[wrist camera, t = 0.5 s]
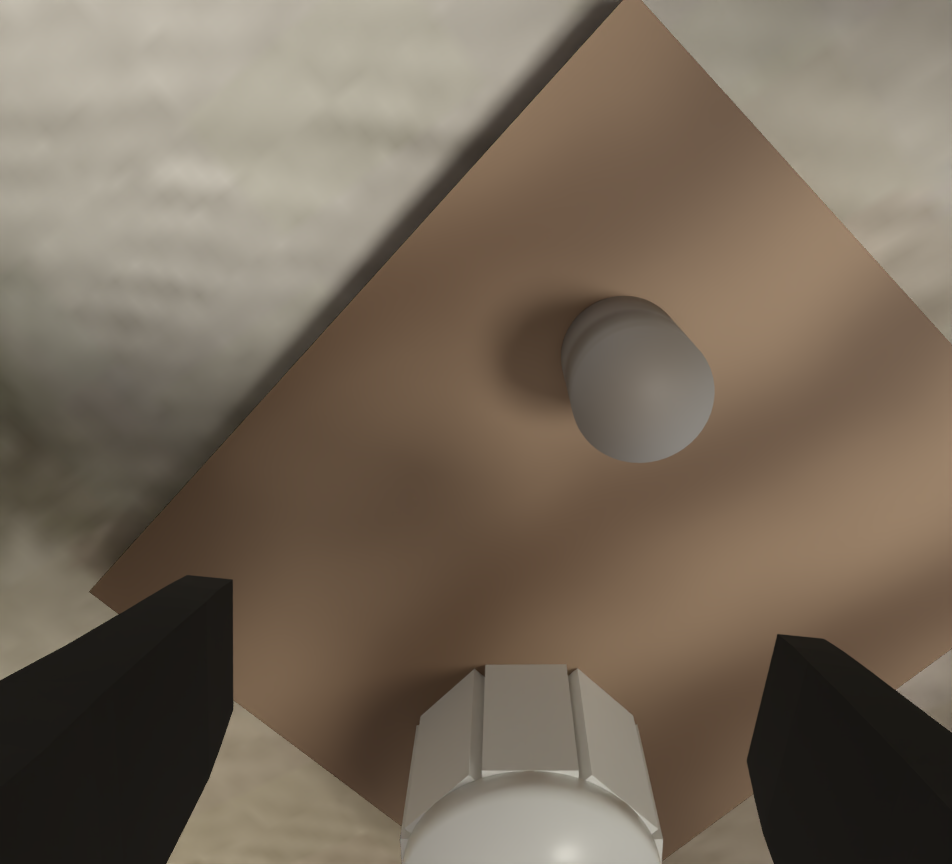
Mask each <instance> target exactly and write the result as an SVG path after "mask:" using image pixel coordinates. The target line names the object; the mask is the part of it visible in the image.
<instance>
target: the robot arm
mask: <svg viewBox="0 0 952 864" xmlns="http://www.w3.org/2000/svg"><path fill="white" fill-rule="evenodd" d="M232 712H233V579H223V578H213V577H203V576H193V575H186V576H184V577H182V578H180V579H178V580H176V581H174V582H173V583H171V584H169V585H167V586H165V587H164V588H162V589H160V590H159V591H157V592H155V593H154V594H152V595H150V596H149V597H147V598H145V599H144V600H142V601H140V602H139V603H137V604H135V605H134V606H132V607H130V608H129V609H127V610H125V611H124V612H122V613H120V614H119V615H117V616H115V617H114V618H112V619H110V620H108V621H107V622H105V623H103V624H102V625H100V626H98V627H97V628H95V629H93V630H92V631H90V632H88V633H86V634H85V635H83V636H81V637H80V638H78V639H76V640H75V641H73V642H71V643H69V644H68V645H66V646H64V647H62V648H60V649H58V650H56V651H54V652H53V653H51V654H49V655H47V656H45V657H43V658H41V659H39V660H38V661H36V662H34V663H32V664H30V665H28V666H26V667H24V668H23V669H21V670H19V671H17V672H15V673H13V674H11V675H9V676H8V677H6V678H4V679H2V680H0V864H166V863H167V861H168V859H169V857H170V855H171V853H172V851H173V849H174V847H175V845H176V843H177V841H178V839H179V837H180V835H181V833H182V831H183V829H184V827H185V825H186V823H187V821H188V819H189V817H190V815H191V813H192V811H193V809H194V807H195V805H196V803H197V801H198V799H199V797H200V795H201V793H202V791H203V789H204V787H205V785H206V783H207V781H208V779H209V777H210V774H211V771H212V769H213V766H214V763H215V760H216V758H217V755H218V752H219V750H220V747H221V744H222V741H223V738H224V735H225V732H226V729H227V726H228V723H229V720H230V717H231V715H232ZM747 766H748V770H749V775H750V779H751V784H752V789H753V793H754V798H755V802H756V806H757V811H758V815H759V819H760V823H761V827H762V831H763V834H764V837H765V840H766V843H767V846H768V849H769V851H770V854H771V857H772V860H773V862H774V864H952V733H951V732H950V731H949V730H947V729H946V728H945V727H943V726H942V725H941V724H939V723H938V722H937V721H935V720H934V719H933V718H931V717H930V716H929V715H927V714H926V713H925V712H923V711H922V710H921V709H919V708H918V707H917V706H916V705H914V704H913V703H912V702H910V701H909V700H908V699H906V698H905V697H904V696H902V695H901V694H900V693H898V692H897V691H896V690H895V689H893V688H892V687H891V686H889V685H888V684H887V683H885V682H884V681H883V680H882V679H880V678H879V677H878V676H876V675H875V674H874V673H872V672H871V671H870V670H868V669H867V668H866V667H864V666H863V665H862V664H860V663H859V662H858V661H856V660H855V659H854V658H852V657H851V656H849V655H848V654H847V653H845V652H844V651H842V650H841V649H839V648H838V647H836V646H835V645H833V644H832V643H830V642H829V641H827V640H825V639H823V638H813V637H803V636H793V635H783V634H777V638H776V642H775V646H774V650H773V654H772V658H771V662H770V666H769V670H768V675H767V679H766V683H765V687H764V691H763V695H762V699H761V703H760V707H759V711H758V715H757V720H756V724H755V728H754V732H753V736H752V740H751V744H750V748H749V752H748V756H747Z"/></svg>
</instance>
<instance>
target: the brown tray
mask: <svg viewBox="0 0 952 864" xmlns="http://www.w3.org/2000/svg"><path fill="white" fill-rule="evenodd" d="M186 575H193V576H203V577H213V578H223V579H233V700H234V701H235V702H237V703H238V704H239V705H241V706H242V707H243V708H245V709H246V710H247V711H249V712H250V713H251V714H253V715H254V716H255V717H257V718H258V719H259V720H261V721H262V722H263V723H265V724H266V725H267V726H269V727H270V728H271V729H273V730H274V731H275V732H277V733H278V734H279V735H281V736H282V737H283V738H285V739H286V740H287V741H289V742H290V743H291V744H293V745H294V746H295V747H297V748H298V749H299V750H301V751H302V752H303V753H305V754H306V755H307V756H309V757H310V758H311V759H313V760H314V761H315V762H317V763H318V764H319V765H321V766H322V767H323V768H325V769H326V770H327V771H329V772H330V773H331V774H333V775H334V776H335V777H337V778H338V779H339V780H341V781H342V782H343V783H345V784H346V785H347V786H349V787H350V788H351V789H353V790H354V791H355V792H357V793H358V794H359V795H361V796H362V797H363V798H365V799H366V800H367V801H369V802H370V803H371V804H373V805H374V806H375V807H377V808H378V809H379V810H381V811H382V812H383V813H385V814H386V815H387V816H388V817H390V818H391V819H392V820H394V821H395V822H396V823H398V824H399V825H400V826H402V822H403V815H404V808H405V801H406V794H407V788H408V781H409V774H410V767H411V760H412V754H413V747H414V740H415V733H416V726H417V725H419V724H420V717H421V715H423V714H424V713H425V712H426V711H427V710H428V709H429V708H430V707H432V706H433V705H434V704H435V703H436V702H437V701H438V700H440V699H441V698H442V697H443V696H444V695H445V694H446V693H447V692H449V691H450V690H451V689H452V688H453V687H454V686H455V685H457V684H458V683H459V682H460V681H461V680H462V679H463V678H465V677H466V676H467V675H468V674H469V673H470V672H471V671H472V670H474V669H476V670H477V671H478V672H479V673H480V674H482V675H483V676H484V677H485V665H529V664H566V665H567V674H568V676H569V675H570V674H571V673H572V672H573V671H575V670H576V669H577V668H578V669H579V670H580V671H581V672H583V673H584V674H585V675H586V676H587V677H588V678H590V679H591V680H592V681H593V682H594V683H596V684H597V685H598V686H599V687H600V688H601V689H603V690H604V691H605V692H606V693H607V694H608V695H610V696H611V697H612V698H613V699H614V700H615V701H617V702H618V703H619V704H620V705H621V706H623V707H624V708H625V709H626V710H627V711H628V712H630V713H631V714H632V715H633V717H634V722H635V725H638V730H639V734H640V739H641V743H642V748H643V752H644V757H645V761H646V766H647V770H648V775H649V779H650V783H651V788H652V792H653V797H654V801H655V806H656V810H657V815H658V819H659V824H660V828H661V832H662V837H663V848H662V861H663V860H664V859H665V858H667V857H668V856H670V855H671V854H672V853H674V852H675V851H676V850H678V849H679V848H680V847H682V846H683V845H685V844H686V843H687V842H689V841H690V840H691V839H693V838H694V837H695V836H697V835H698V834H700V833H701V832H702V831H704V830H705V829H706V828H708V827H709V826H710V825H712V824H713V823H715V822H716V821H717V820H719V819H720V818H721V817H723V816H724V815H725V814H727V813H728V812H730V811H731V810H732V809H734V808H735V807H736V806H738V805H739V804H740V803H742V802H743V801H745V800H746V799H747V798H749V797H750V796H751V795H753V794H754V793H753V789H752V784H751V779H750V775H749V770H748V766H747V756H748V752H749V748H750V744H751V740H752V736H753V732H754V728H755V724H756V720H757V715H758V711H759V707H760V703H761V699H762V695H763V691H764V687H765V683H766V679H767V675H768V670H769V666H770V662H771V658H772V654H773V650H774V646H775V642H776V638H777V634H783V635H793V636H803V637H813V638H823V639H825V640H827V641H829V642H830V643H832V644H833V645H835V646H836V647H838V648H839V649H841V650H842V651H844V652H845V653H847V654H848V655H849V656H851V657H852V658H854V659H855V660H856V661H858V662H859V663H860V664H862V665H863V666H864V667H866V668H867V669H868V670H870V671H871V672H872V673H874V674H875V675H876V676H878V677H879V678H880V679H882V680H883V681H884V682H885V683H887V684H888V685H889V686H891V687H892V688H893V689H895V690H896V689H897V688H899V687H900V686H901V685H903V684H904V683H906V682H907V681H908V680H910V679H911V678H912V677H914V676H915V675H916V674H918V673H919V672H921V671H922V670H923V669H925V668H926V667H927V666H929V665H930V664H931V663H933V662H934V661H936V660H937V659H938V658H940V657H941V656H942V655H944V654H945V653H946V652H948V651H949V650H951V649H952V344H951V343H950V342H949V341H948V340H947V339H946V338H945V337H944V335H943V334H942V333H941V332H940V331H939V330H938V329H937V328H936V327H935V325H934V324H933V323H932V322H931V321H930V320H929V319H928V318H927V317H926V315H925V314H924V313H923V312H922V311H921V310H920V309H919V308H918V307H917V305H916V304H915V303H914V302H913V301H912V300H911V299H910V298H909V297H908V296H907V294H906V293H905V292H904V291H903V290H902V289H901V288H900V287H899V286H898V284H897V283H896V282H895V281H894V280H893V279H892V278H891V277H890V276H889V274H888V273H887V272H886V271H885V270H884V269H883V268H882V267H881V266H880V264H879V263H878V262H877V261H876V260H875V259H874V258H873V257H872V256H871V254H870V253H869V252H868V251H867V250H866V249H865V248H864V247H863V246H862V244H861V243H860V242H859V241H858V240H857V239H856V238H855V237H854V236H853V235H852V233H851V232H850V231H849V230H848V229H847V228H846V227H845V226H844V225H843V223H842V222H841V221H840V220H839V219H838V218H837V217H836V216H835V215H834V213H833V212H832V211H831V210H830V209H829V208H828V207H827V206H826V205H825V203H824V202H823V201H822V200H821V199H820V198H819V197H818V196H817V195H816V193H815V192H814V191H813V190H812V189H811V188H810V187H809V186H808V185H807V183H806V182H805V181H804V180H803V179H802V178H801V177H800V176H799V175H798V174H797V172H796V171H795V170H794V169H793V168H792V167H791V166H790V165H789V164H788V162H787V161H786V160H785V159H784V158H783V157H782V156H781V155H780V154H779V152H778V151H777V150H776V149H775V148H774V147H773V146H772V145H771V144H770V142H769V141H768V140H767V139H766V138H765V137H764V136H763V135H762V134H761V132H760V131H759V130H758V129H757V128H756V127H755V126H754V125H753V124H752V122H751V121H750V120H749V119H748V118H747V117H746V116H745V115H744V114H743V113H742V111H741V110H740V109H739V108H738V107H737V106H736V105H735V104H734V103H733V101H732V100H731V99H730V98H729V97H728V96H727V95H726V94H725V93H724V91H723V90H722V89H721V88H720V87H719V86H718V85H717V84H716V83H715V81H714V80H713V79H712V78H711V77H710V76H709V75H708V74H707V73H706V71H705V70H704V69H703V68H702V67H701V66H700V65H699V64H698V63H697V61H696V60H695V59H694V58H693V57H692V56H691V55H690V54H689V53H688V52H687V50H686V49H685V48H684V47H683V46H682V45H681V44H680V43H679V42H678V40H677V39H676V38H675V37H674V36H673V35H672V34H671V33H670V32H669V30H668V29H667V28H666V27H665V26H664V25H663V24H662V23H661V22H660V20H659V19H658V18H657V17H656V16H655V15H654V14H653V13H652V12H651V10H650V9H649V8H648V7H647V6H646V5H645V4H644V3H643V2H642V0H623V1H622V2H621V3H620V4H619V5H618V6H617V7H616V8H615V9H614V11H613V12H612V13H611V14H610V15H609V16H608V17H607V18H606V19H605V21H604V22H603V23H602V24H601V25H600V26H599V27H598V28H597V29H596V30H595V32H594V33H593V34H592V35H591V36H590V37H589V38H588V39H587V40H586V42H585V43H584V44H583V45H582V46H581V47H580V48H579V49H578V50H577V52H576V53H575V54H574V55H573V56H572V57H571V58H570V59H569V60H568V62H567V63H566V64H565V65H564V66H563V67H562V68H561V69H560V70H559V71H558V73H557V74H556V75H555V76H554V77H553V78H552V79H551V80H550V81H549V83H548V84H547V85H546V86H545V87H544V88H543V89H542V90H541V91H540V93H539V94H538V95H537V96H536V97H535V98H534V99H533V100H532V101H531V103H530V104H529V105H528V106H527V107H526V108H525V109H524V110H523V111H522V112H521V114H520V115H519V116H518V117H517V118H516V119H515V120H514V121H513V122H512V124H511V125H510V126H509V127H508V128H507V129H506V130H505V131H504V132H503V134H502V135H501V136H500V137H499V138H498V139H497V140H496V141H495V142H494V144H493V145H492V146H491V147H490V148H489V149H488V150H487V151H486V152H485V153H484V155H483V156H482V157H481V158H480V159H479V160H478V161H477V162H476V163H475V165H474V166H473V167H472V168H471V169H470V170H469V171H468V172H467V173H466V175H465V176H464V177H463V178H462V179H461V180H460V181H459V182H458V183H457V185H456V186H455V187H454V188H453V189H452V190H451V191H450V192H449V193H448V194H447V196H446V197H445V198H444V199H443V200H442V201H441V202H440V203H439V204H438V206H437V207H436V208H435V209H434V210H433V211H432V212H431V213H430V214H429V216H428V217H427V218H426V219H425V220H424V221H423V222H422V223H421V224H420V226H419V227H418V228H417V229H416V230H415V231H414V232H413V233H412V234H411V235H410V237H409V238H408V239H407V240H406V241H405V242H404V243H403V244H402V245H401V247H400V248H399V249H398V250H397V251H396V252H395V253H394V254H393V255H392V257H391V258H390V259H389V260H388V261H387V262H386V263H385V264H384V265H383V267H382V268H381V269H380V270H379V271H378V272H377V273H376V274H375V275H374V276H373V278H372V279H371V280H370V281H369V282H368V283H367V284H366V285H365V286H364V288H363V289H362V290H361V291H360V292H359V293H358V294H357V295H356V296H355V298H354V299H353V300H352V301H351V302H350V303H349V304H348V305H347V306H346V308H345V309H344V310H343V311H342V312H341V313H340V314H339V315H338V316H337V317H336V319H335V320H334V321H333V322H332V323H331V324H330V325H329V326H328V327H327V329H326V330H325V331H324V332H323V333H322V334H321V335H320V336H319V337H318V339H317V340H316V341H315V342H314V343H313V344H312V345H311V346H310V347H309V349H308V350H307V351H306V352H305V353H304V354H303V355H302V356H301V357H300V358H299V360H298V361H297V362H296V363H295V364H294V365H293V366H292V367H291V368H290V370H289V371H288V372H287V373H286V374H285V375H284V376H283V377H282V378H281V380H280V381H279V382H278V383H277V384H276V385H275V386H274V387H273V388H272V389H271V391H270V392H269V393H268V394H267V395H266V396H265V397H264V398H263V399H262V401H261V402H260V403H259V404H258V405H257V406H256V407H255V408H254V409H253V411H252V412H251V413H250V414H249V415H248V416H247V417H246V418H245V419H244V421H243V422H242V423H241V424H240V425H239V426H238V427H237V428H236V429H235V430H234V432H233V433H232V434H231V435H230V436H229V437H228V438H227V439H226V440H225V442H224V443H223V444H222V445H221V446H220V447H219V448H218V449H217V450H216V452H215V453H214V454H213V455H212V456H211V457H210V458H209V459H208V460H207V462H206V463H205V464H204V465H203V466H202V467H201V468H200V469H199V470H198V471H197V473H196V474H195V475H194V476H193V477H192V478H191V479H190V480H189V481H188V483H187V484H186V485H185V486H184V487H183V488H182V489H181V490H180V491H179V493H178V494H177V495H176V496H175V497H174V498H173V499H172V500H171V501H170V503H169V504H168V505H167V506H166V507H165V508H164V509H163V510H162V511H161V512H160V514H159V515H158V516H157V517H156V518H155V519H154V520H153V521H152V522H151V524H150V525H149V526H148V527H147V528H146V529H145V530H144V531H143V532H142V534H141V535H140V536H139V537H138V538H137V539H136V540H135V541H134V542H133V544H132V545H131V546H130V547H129V548H128V549H127V550H126V551H125V552H124V553H123V555H122V556H121V557H120V558H119V559H118V560H117V561H116V562H115V563H114V565H113V566H112V567H111V568H110V569H109V570H108V571H107V572H106V573H105V575H104V576H103V577H102V578H101V579H100V580H99V581H98V582H97V583H96V585H95V586H94V587H93V588H92V589H91V590H90V591H89V592H90V593H91V594H93V595H94V596H95V597H97V598H98V599H99V600H101V601H102V602H103V603H105V604H106V605H107V606H109V607H110V608H111V609H113V610H114V611H115V612H117V613H118V614H120V613H122V612H124V611H125V610H127V609H129V608H130V607H132V606H134V605H135V604H137V603H139V602H140V601H142V600H144V599H145V598H147V597H149V596H150V595H152V594H154V593H155V592H157V591H159V590H160V589H162V588H164V587H165V586H167V585H169V584H171V583H173V582H174V581H176V580H178V579H180V578H182V577H184V576H186Z"/></svg>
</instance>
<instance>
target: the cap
mask: <svg viewBox="0 0 952 864" xmlns="http://www.w3.org/2000/svg"><path fill="white" fill-rule="evenodd" d="M400 845H401V859H402V864H662V848H663V837H662V832H661V828H660V824H659V819H658V815H657V810H656V806H655V801H654V797H653V792H652V788H651V783H650V779H649V775H648V770H647V766H646V761H645V757H644V752H643V748H642V743H641V739H640V734H639V730H638V725H635V722H634V717H633V715H632V714H631V713H630V712H628V711H627V710H626V709H625V708H624V707H623V706H621V705H620V704H619V703H618V702H617V701H615V700H614V699H613V698H612V697H611V696H610V695H608V694H607V693H606V692H605V691H604V690H603V689H601V688H600V687H599V686H598V685H597V684H596V683H594V682H593V681H592V680H591V679H590V678H588V677H587V676H586V675H585V674H584V673H583V672H581V671H580V670H579V669H578V668H577V669H576V670H575V671H573V672H572V673H571V674H570V675H569V676H568V674H567V665H566V664H529V665H485V677H484V676H483V675H482V674H480V673H479V672H478V671H477V670H476V669H474V670H472V671H471V672H470V673H469V674H468V675H467V676H466V677H465V678H463V679H462V680H461V681H460V682H459V683H458V684H457V685H455V686H454V687H453V688H452V689H451V690H450V691H449V692H447V693H446V694H445V695H444V696H443V697H442V698H441V699H440V700H438V701H437V702H436V703H435V704H434V705H433V706H432V707H430V708H429V709H428V710H427V711H426V712H425V713H424V714H423V715H421V717H420V724H419V725H417V726H416V733H415V740H414V747H413V754H412V760H411V767H410V774H409V781H408V788H407V794H406V801H405V808H404V815H403V822H402V828H401V835H400Z"/></svg>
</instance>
